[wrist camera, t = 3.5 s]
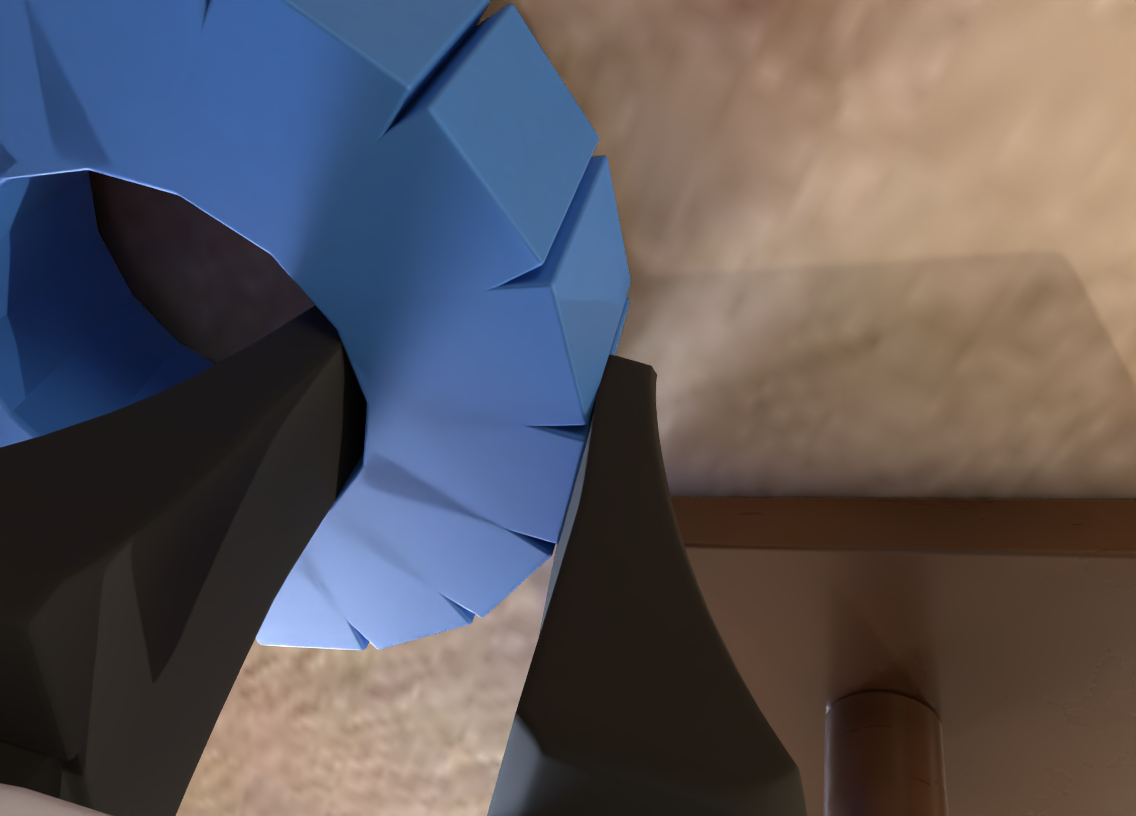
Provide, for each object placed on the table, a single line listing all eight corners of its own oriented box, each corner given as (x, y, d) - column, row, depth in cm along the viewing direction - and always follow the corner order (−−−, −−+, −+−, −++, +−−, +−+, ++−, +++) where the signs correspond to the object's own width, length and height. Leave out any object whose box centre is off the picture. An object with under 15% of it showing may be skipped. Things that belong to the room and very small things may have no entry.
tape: (134, 509, 20) (37, 634, 18) (-246, -79, 13) (-486, -7, 11) (675, 513, 17) (647, 667, 14) (528, -262, 10) (430, -217, 8)
